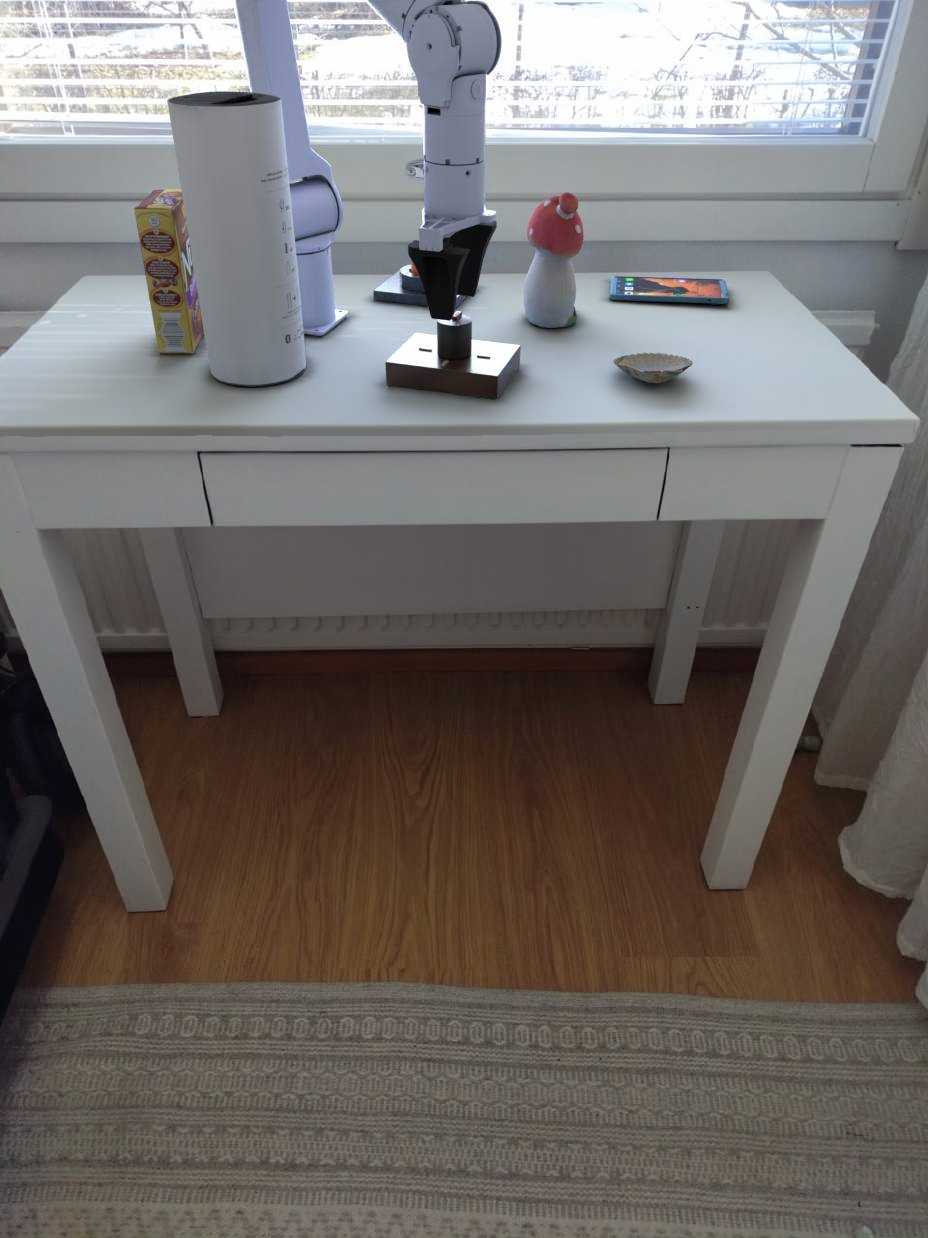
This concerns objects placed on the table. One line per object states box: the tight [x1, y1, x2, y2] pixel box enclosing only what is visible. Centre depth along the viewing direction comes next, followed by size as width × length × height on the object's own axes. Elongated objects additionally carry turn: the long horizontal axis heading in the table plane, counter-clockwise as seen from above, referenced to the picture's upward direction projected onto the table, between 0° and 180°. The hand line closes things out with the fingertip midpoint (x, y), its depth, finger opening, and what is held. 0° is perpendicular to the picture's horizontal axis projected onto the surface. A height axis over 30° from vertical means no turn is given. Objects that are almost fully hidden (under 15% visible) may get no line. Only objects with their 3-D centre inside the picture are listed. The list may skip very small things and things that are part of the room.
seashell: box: [612, 352, 693, 384], centre depth 97 cm, size 8×3×8 cm
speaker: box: [166, 90, 307, 388], centre depth 91 cm, size 11×10×26 cm
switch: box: [410, 259, 419, 275], centre depth 117 cm, size 4×4×2 cm
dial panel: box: [384, 332, 521, 401], centre depth 97 cm, size 12×9×3 cm
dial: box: [436, 310, 473, 359], centre depth 95 cm, size 4×4×4 cm
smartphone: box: [608, 275, 730, 306], centre depth 120 cm, size 8×1×15 cm
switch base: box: [372, 264, 468, 310], centre depth 119 cm, size 11×9×3 cm
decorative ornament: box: [523, 192, 585, 329], centre depth 107 cm, size 9×6×15 cm
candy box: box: [133, 188, 204, 355], centre depth 101 cm, size 9×4×15 cm, turn 2°
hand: (453, 306), depth 93 cm, fingers open, 7 cm apart
